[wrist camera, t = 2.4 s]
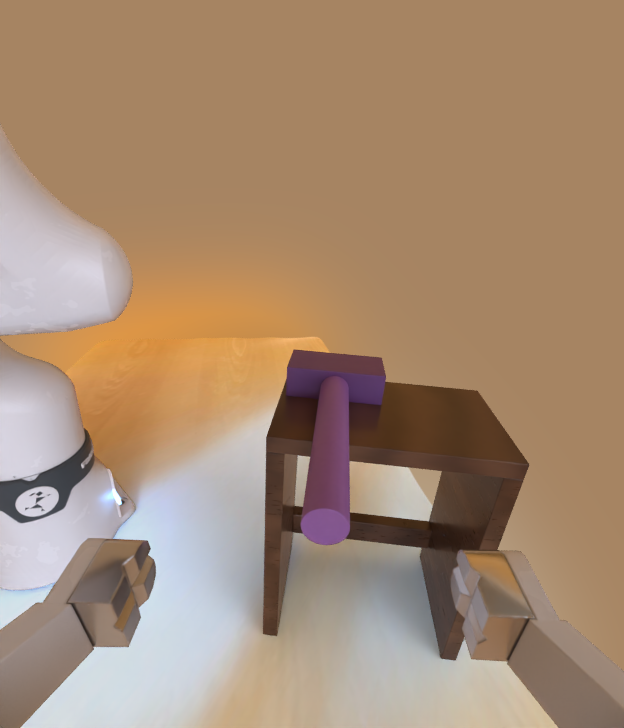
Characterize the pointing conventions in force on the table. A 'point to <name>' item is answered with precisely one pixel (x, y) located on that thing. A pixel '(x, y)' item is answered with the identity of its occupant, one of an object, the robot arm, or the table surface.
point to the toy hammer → (331, 433)
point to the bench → (406, 449)
